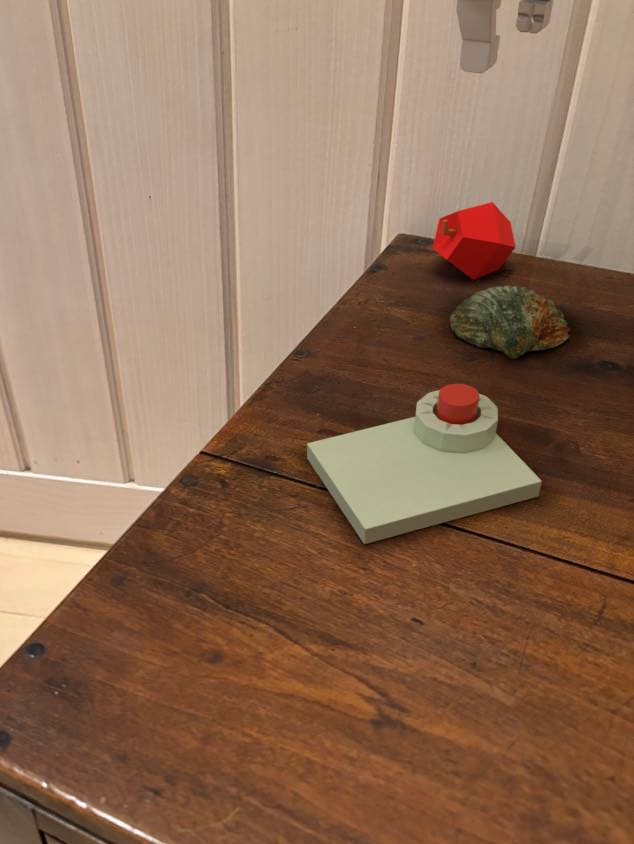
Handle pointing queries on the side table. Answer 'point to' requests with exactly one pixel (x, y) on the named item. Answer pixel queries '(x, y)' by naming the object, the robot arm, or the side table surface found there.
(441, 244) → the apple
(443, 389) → the button
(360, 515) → the scale
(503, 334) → the seashell
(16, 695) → the side table surface
